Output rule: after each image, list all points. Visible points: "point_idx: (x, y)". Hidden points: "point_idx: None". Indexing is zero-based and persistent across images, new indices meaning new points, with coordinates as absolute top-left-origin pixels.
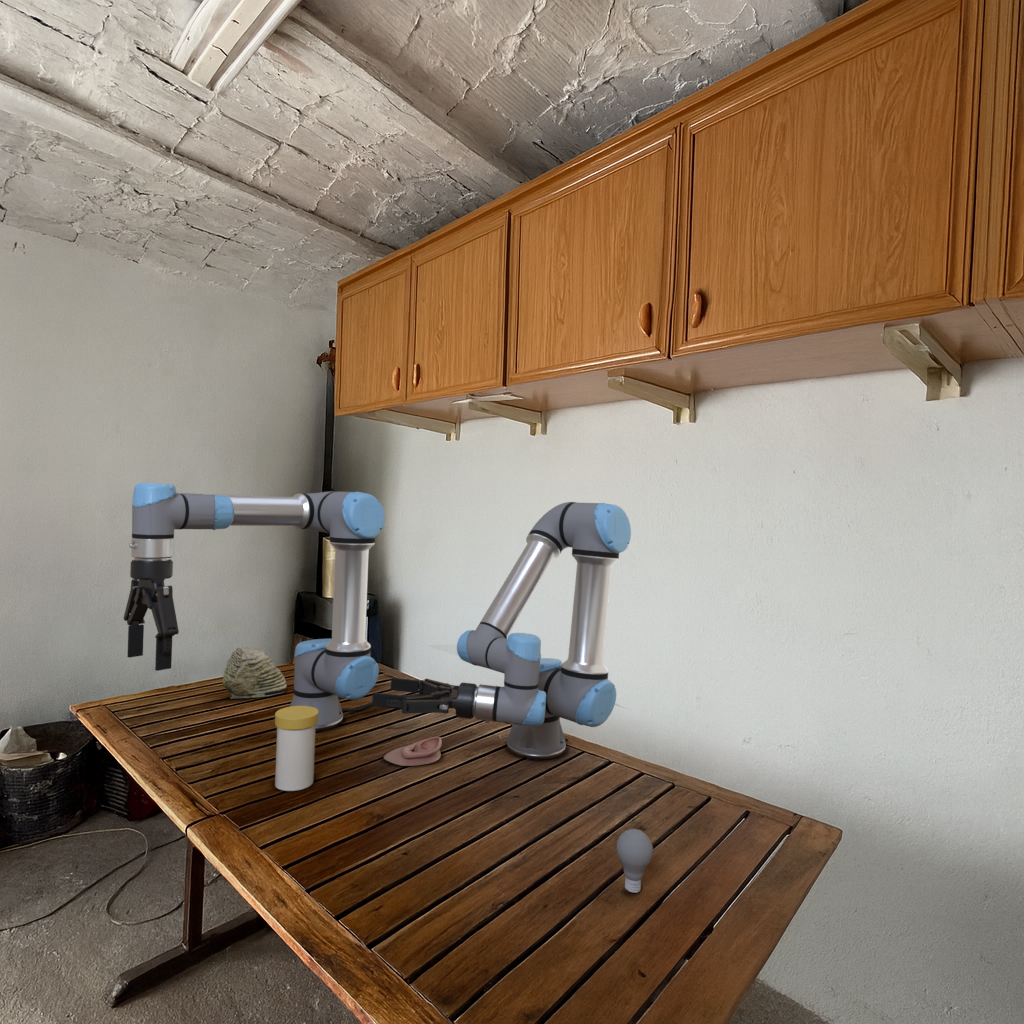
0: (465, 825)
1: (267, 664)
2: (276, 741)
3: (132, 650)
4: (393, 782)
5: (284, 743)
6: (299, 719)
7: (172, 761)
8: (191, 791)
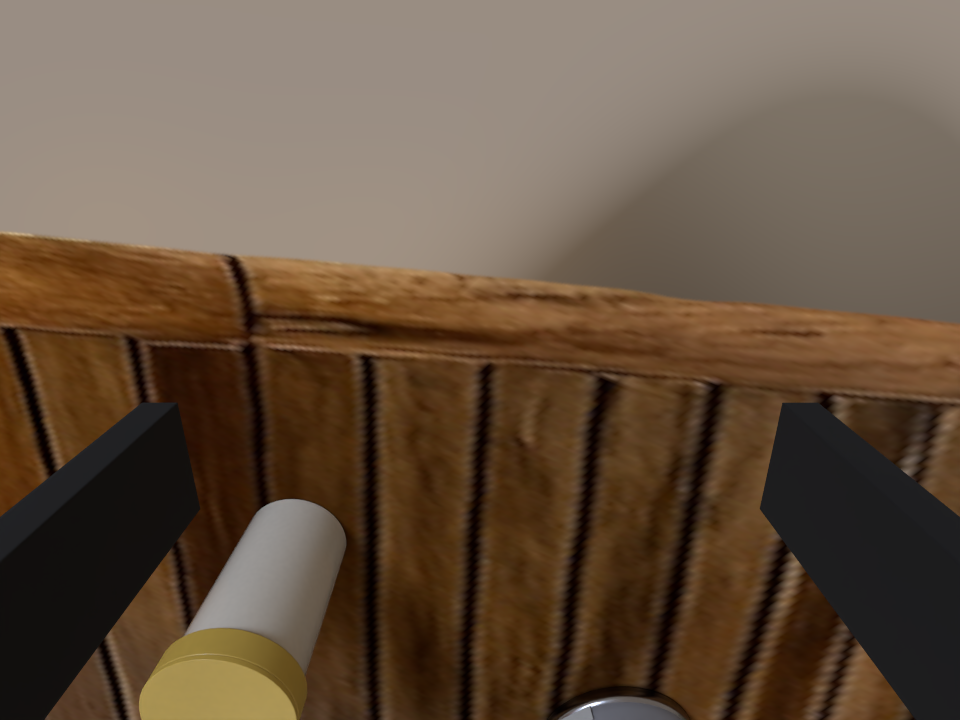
0: None
1: None
2: (276, 591)
3: (811, 464)
4: (152, 672)
5: (221, 596)
6: (142, 691)
7: (671, 395)
8: (431, 348)
